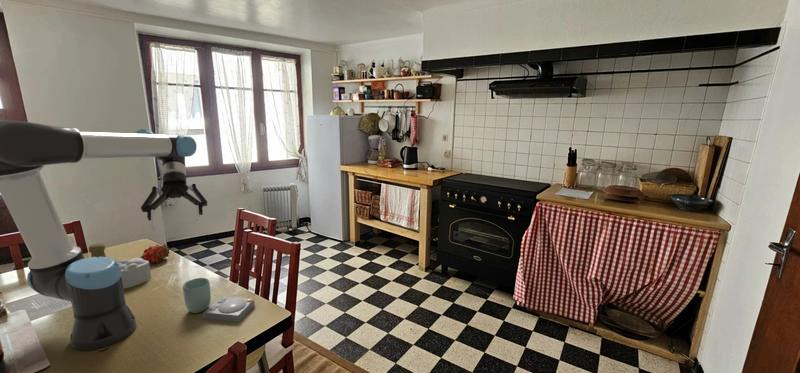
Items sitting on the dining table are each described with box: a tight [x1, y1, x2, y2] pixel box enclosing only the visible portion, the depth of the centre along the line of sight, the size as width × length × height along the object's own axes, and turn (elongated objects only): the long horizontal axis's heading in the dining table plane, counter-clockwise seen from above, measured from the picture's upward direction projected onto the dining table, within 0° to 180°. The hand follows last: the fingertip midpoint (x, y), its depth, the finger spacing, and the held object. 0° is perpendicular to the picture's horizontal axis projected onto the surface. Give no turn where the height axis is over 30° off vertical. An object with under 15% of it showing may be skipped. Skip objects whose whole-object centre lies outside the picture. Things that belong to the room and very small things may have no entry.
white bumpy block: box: [117, 257, 152, 290], centre depth 133 cm, size 10×13×9 cm
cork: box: [88, 242, 107, 258], centre depth 144 cm, size 6×6×11 cm
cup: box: [182, 277, 212, 314], centre depth 116 cm, size 8×8×10 cm
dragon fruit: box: [140, 244, 171, 264], centre depth 152 cm, size 8×8×12 cm
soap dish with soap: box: [203, 296, 255, 323], centre depth 115 cm, size 10×12×3 cm
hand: (176, 224), depth 120 cm, fingers open, 13 cm apart
